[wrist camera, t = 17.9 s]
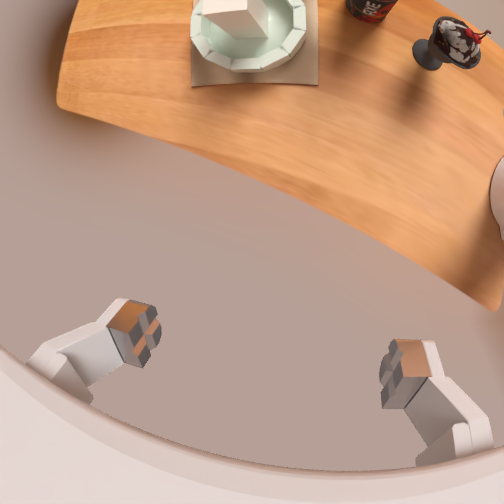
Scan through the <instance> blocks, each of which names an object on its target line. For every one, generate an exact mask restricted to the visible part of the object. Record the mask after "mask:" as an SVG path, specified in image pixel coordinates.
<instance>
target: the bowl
mask: <svg viewBox="0 0 504 504" xmlns="http://www.w3.org/2000/svg"><path fill="white" fill-rule="evenodd" d="M262 1H263V3H264V4H265V6H266V8H267V10H268V38H254V39H237V40H236V39H234V38H233V37H232V36H230V35H229V34H228V33H227V32H225V31H224V30H223V29H221V28H220V27H219V26H217V25H216V24H215V23H213V22H212V21H210V20H209V19H208V18H206V17H205V16H203V15H202V13H203V0H200V1H199V3H198V4H197V6H196V7H195V9H194V10H193V12H192V15H191V32H190V37H191V40H192V41H193V43H194V44H195V46H196V47H197V49H198V50H199V52H200V53H201V55H202V56H203V58H205V59H207V60H209V61H211V62H214V63H216V64H218V65H220V66H222V67H225V68H227V69H229V70H231V71H234V72H237V73H239V72H244V73H256V72H265V71H268V70H271V69H274V68H276V67H278V66H280V65H282V64H284V63H286V62H287V61H288V60H290V59H291V58H293V56H294V55H295V54H296V53H297V52H298V51H299V49H300V48H301V46H302V44H303V42H304V40H305V39H306V38H307V37H306V36H307V14H306V7H305V4H304V3H303V2H302V0H262Z"/></svg>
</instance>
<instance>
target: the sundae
mask: <svg viewBox="0 0 504 504" xmlns="http://www.w3.org/2000/svg"><path fill="white" fill-rule="evenodd" d="M485 33H486V34H487V33H489V34H491V32H490V31H488V30H486V32H484V33H482V34H485ZM482 34H478V33H474V32H473V31H472V30H471V29H470V28H469V27H468V26H467V25H466V24H465V23H464V22H463V21H460V20H458V19H456V18H453V17H446V16H444V17H440V18H438V19H437V20H436V22H435V24H434V26H433V33H432V35H431V36H430V38H429V40H426V39H420V40H418V41H416V42H415V43H414V45H413V54H414V57H415V59H416V60H417V62H418V63H419V64H420V65H421V66H423V67H424V68H426V69H429V70H437V69H438V68H440V67H441V65H442V62H444V63H453V64H455V65H456V66H458V67H460V68H462V69H471V68H473V67H475V66H476V65H477V64H478V63H479V61H480V58H481V52H480V48H479V47H480V46H479V44H480V43H481V39H482V38H483V37H484V36H486V34H485V35H483V36H482V37H481V38H480V36H479V35H482Z"/></svg>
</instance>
